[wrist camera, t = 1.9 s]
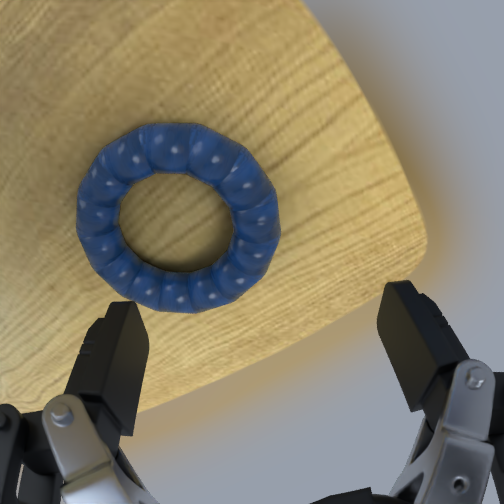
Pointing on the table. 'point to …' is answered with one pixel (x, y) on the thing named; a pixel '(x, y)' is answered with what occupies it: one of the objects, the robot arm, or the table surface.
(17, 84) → the table surface
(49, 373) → the table surface
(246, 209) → the blue teething ring
